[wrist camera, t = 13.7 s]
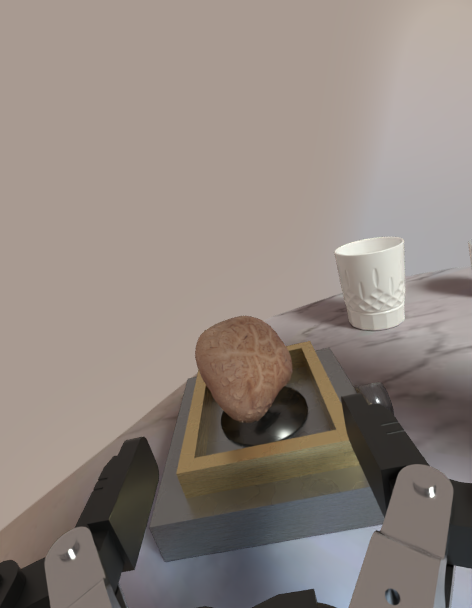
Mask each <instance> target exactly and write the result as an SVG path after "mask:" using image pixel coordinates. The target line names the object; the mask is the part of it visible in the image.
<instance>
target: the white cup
mask: <svg viewBox="0 0 472 608" xmlns="http://www.w3.org/2000/svg"><path fill="white" fill-rule="evenodd" d="M334 253H335V258H336V263H337V268H338V273H339V278H340V284H341V288H342V291H343V297H344V301H345V304H346V306H347V313H348V318H349V322H350V323H351V324H352V326H353V327H356V328H359V329H362V330H374V331H375V330H384V329H389V328H392V327H395V326H398V325H399V324H400V323H402V322H403V321H404V319H405V317H404V300H405V261H404V240H403V239H402V238H398V237H378V238H371V239H365V240H360V241H355V242H352V243H348V244H345V245H343V246H341V247H339V248H337V249H336V250H335V251H334Z"/></svg>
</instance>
